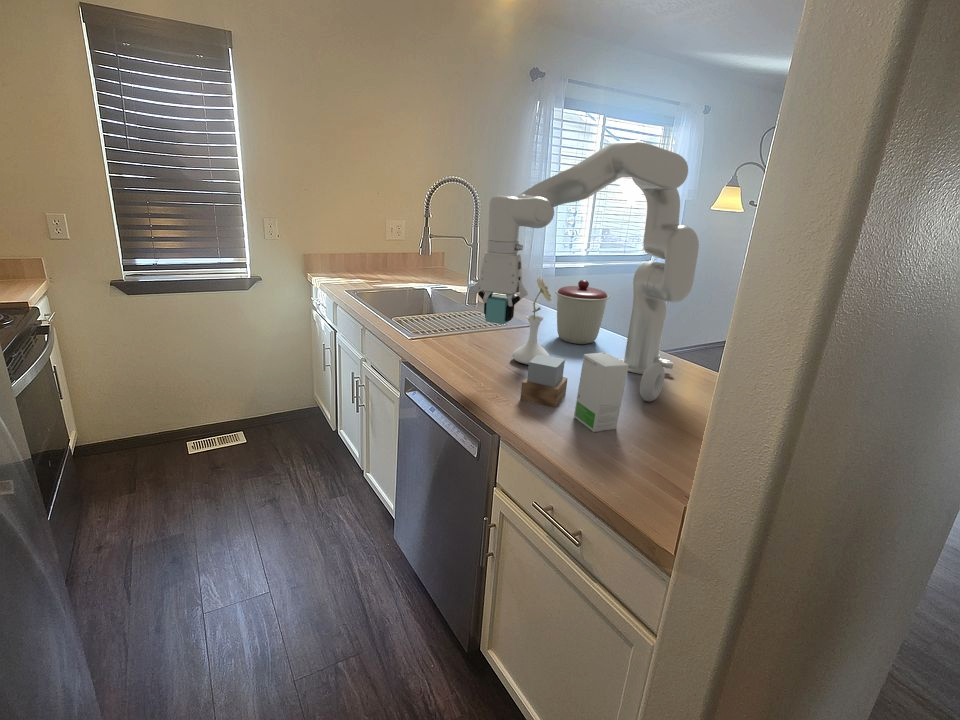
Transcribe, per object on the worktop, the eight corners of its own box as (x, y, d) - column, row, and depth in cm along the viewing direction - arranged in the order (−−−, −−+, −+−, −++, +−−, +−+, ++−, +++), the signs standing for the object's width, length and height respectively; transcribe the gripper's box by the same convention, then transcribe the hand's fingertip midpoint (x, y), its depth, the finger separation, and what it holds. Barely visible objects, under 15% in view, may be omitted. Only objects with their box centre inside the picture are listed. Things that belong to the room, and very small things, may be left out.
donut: (650, 393, 136) (656, 357, 133) (662, 397, 134) (669, 360, 131) (634, 403, 129) (640, 366, 126) (647, 408, 127) (654, 369, 124)
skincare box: (573, 417, 119) (581, 353, 114) (596, 414, 122) (605, 351, 117) (594, 433, 112) (604, 365, 107) (619, 429, 115) (630, 363, 110)
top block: (562, 378, 130) (564, 359, 128) (554, 387, 123) (556, 367, 122) (536, 372, 132) (537, 354, 131) (527, 381, 126) (528, 361, 124)
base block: (565, 396, 132) (567, 377, 130) (555, 408, 124) (557, 389, 122) (531, 389, 135) (533, 371, 133) (520, 400, 127) (521, 381, 126)
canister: (539, 336, 182) (545, 276, 175) (575, 330, 192) (582, 274, 186) (577, 351, 168) (585, 286, 162) (613, 343, 179) (622, 283, 172)
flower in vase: (548, 370, 149) (557, 284, 141) (509, 365, 151) (516, 280, 142) (551, 356, 161) (560, 276, 153) (515, 352, 163) (522, 273, 155)
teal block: (510, 320, 136) (512, 297, 134) (503, 324, 132) (504, 301, 130) (493, 317, 138) (494, 295, 136) (485, 321, 133) (486, 298, 132)
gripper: (539, 249, 129) (534, 320, 135) (477, 243, 135) (474, 311, 141) (529, 252, 122) (524, 327, 128) (465, 246, 129) (462, 317, 135)
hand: (498, 318), depth 134 cm, fingers closed on teal block, 5 cm apart
